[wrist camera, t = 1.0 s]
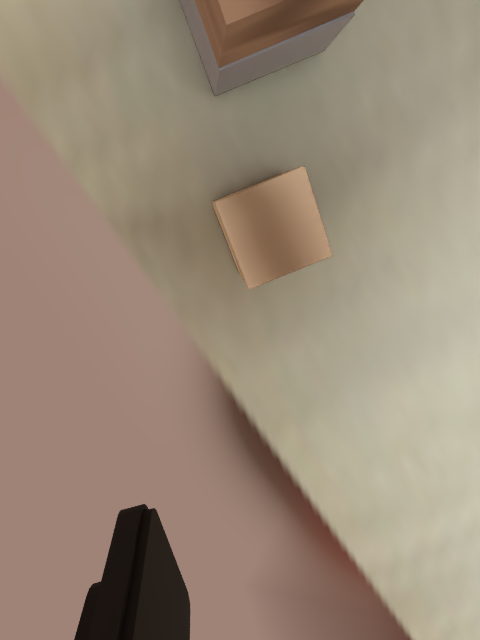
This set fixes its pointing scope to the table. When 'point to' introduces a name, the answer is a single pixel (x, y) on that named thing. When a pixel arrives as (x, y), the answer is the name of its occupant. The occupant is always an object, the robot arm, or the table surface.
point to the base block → (260, 60)
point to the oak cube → (273, 227)
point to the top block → (263, 22)
